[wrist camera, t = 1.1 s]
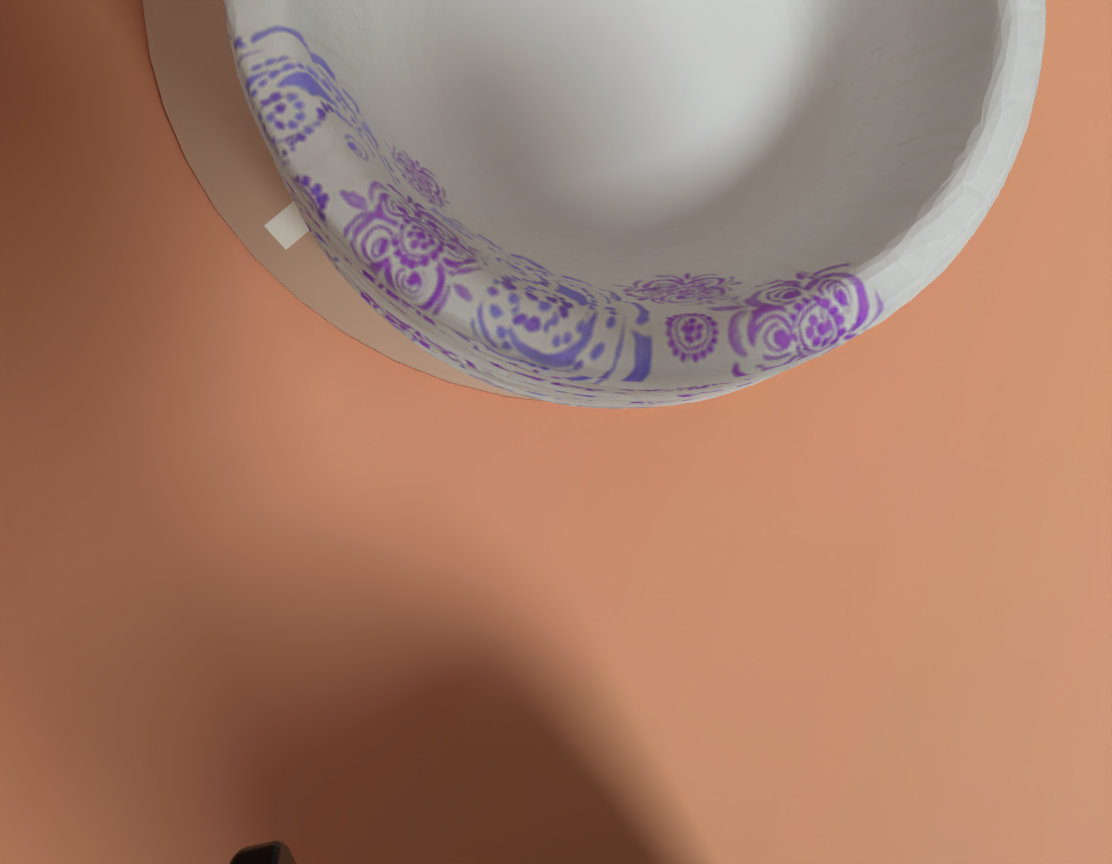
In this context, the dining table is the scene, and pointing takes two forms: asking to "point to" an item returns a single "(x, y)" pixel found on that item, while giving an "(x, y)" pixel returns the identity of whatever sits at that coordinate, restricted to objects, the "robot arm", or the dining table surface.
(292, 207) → the centring plate
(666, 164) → the white floral bowl
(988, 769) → the dining table surface
